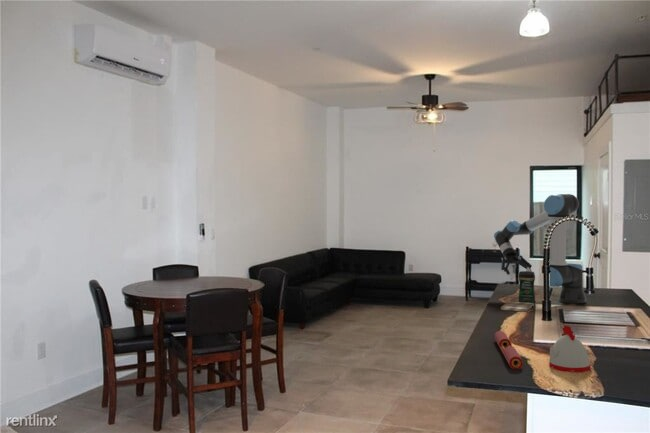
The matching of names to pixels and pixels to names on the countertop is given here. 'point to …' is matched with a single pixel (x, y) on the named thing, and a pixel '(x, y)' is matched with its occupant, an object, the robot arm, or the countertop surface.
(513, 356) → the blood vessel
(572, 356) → the grey hat
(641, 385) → the countertop surface
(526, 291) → the coffee jar
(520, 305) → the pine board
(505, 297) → the countertop surface
